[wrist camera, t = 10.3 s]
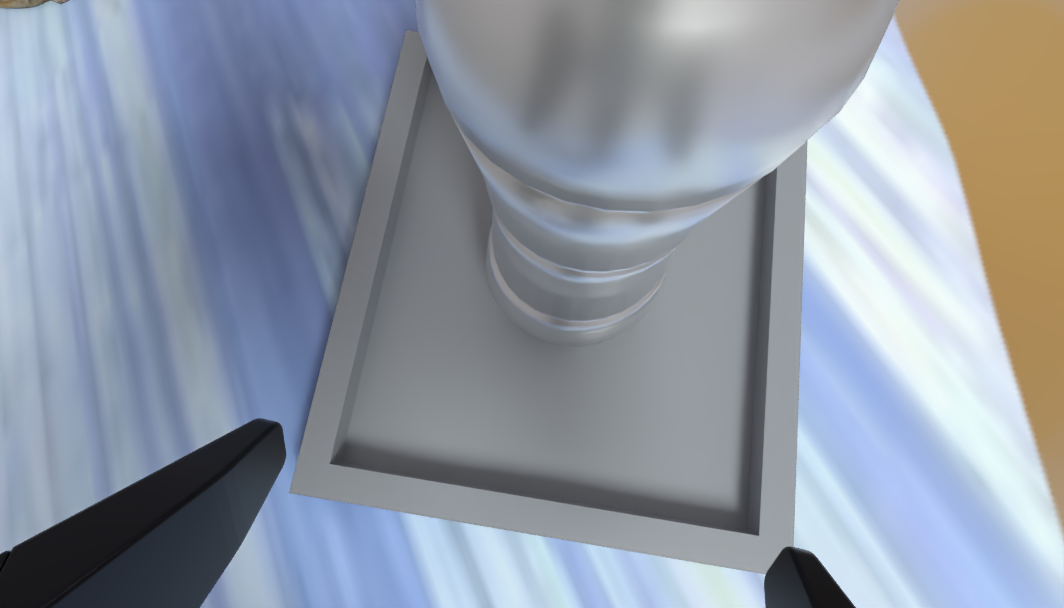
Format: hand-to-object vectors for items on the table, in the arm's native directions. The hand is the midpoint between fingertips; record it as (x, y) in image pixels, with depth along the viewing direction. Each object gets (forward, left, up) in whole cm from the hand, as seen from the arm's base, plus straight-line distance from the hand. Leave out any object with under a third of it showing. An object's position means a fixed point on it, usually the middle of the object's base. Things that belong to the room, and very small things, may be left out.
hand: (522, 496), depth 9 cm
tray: (+8, -1, -12) cm, 14 cm away
